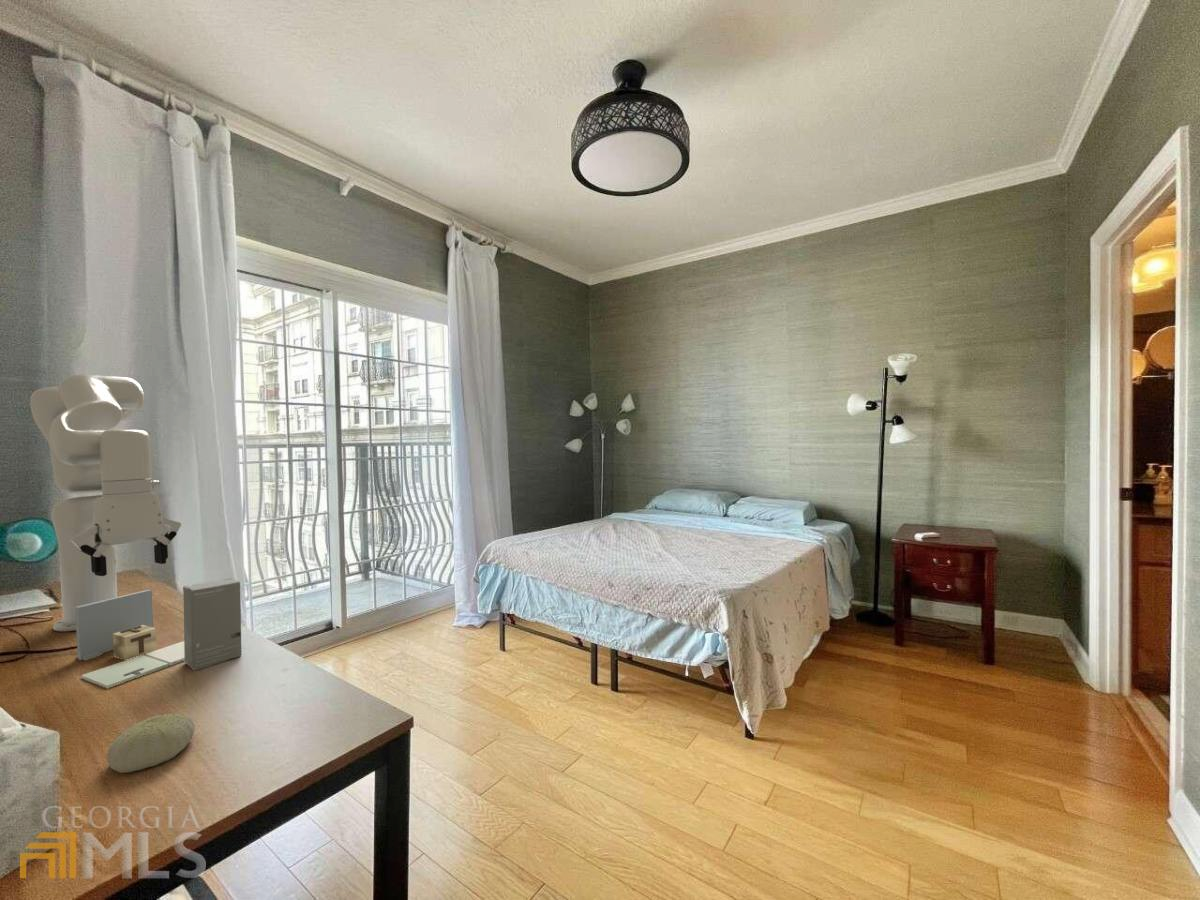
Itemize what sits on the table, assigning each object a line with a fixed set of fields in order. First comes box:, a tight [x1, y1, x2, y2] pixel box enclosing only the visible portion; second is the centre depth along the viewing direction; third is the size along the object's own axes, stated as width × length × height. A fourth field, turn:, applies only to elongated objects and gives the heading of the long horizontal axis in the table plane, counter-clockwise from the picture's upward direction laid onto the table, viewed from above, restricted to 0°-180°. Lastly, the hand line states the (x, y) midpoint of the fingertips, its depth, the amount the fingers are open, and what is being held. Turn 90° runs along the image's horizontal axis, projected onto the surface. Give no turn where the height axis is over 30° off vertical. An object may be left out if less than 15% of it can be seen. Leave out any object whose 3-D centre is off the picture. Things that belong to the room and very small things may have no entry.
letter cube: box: [113, 625, 158, 661], centre depth 101 cm, size 5×5×5 cm
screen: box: [75, 589, 154, 661], centre depth 104 cm, size 4×12×11 cm, turn 156°
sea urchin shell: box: [106, 713, 195, 774], centre depth 68 cm, size 9×8×8 cm
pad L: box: [144, 640, 185, 666], centre depth 101 cm, size 10×9×1 cm
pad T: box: [81, 655, 169, 690], centre depth 93 cm, size 10×9×1 cm
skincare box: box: [182, 577, 243, 671], centre depth 98 cm, size 8×7×16 cm
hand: (131, 569), depth 100 cm, fingers open, 9 cm apart
